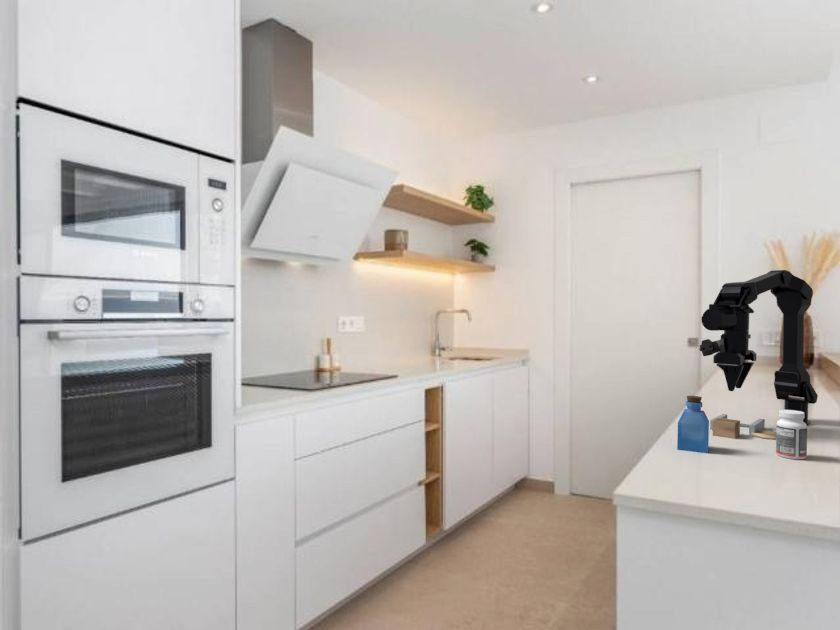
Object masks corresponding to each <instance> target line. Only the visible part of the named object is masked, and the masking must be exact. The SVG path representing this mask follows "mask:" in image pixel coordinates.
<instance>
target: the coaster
mask: <svg viewBox="0 0 840 630" xmlns="http://www.w3.org/2000/svg"><path fill="white" fill-rule="evenodd" d="M750 436H753V437H756V438H761V439H766V440H775V441H776V431H773V430H765V429H763V430H758V431H757V432H755V433H751V435H750Z"/></svg>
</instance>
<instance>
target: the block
mask: <svg viewBox="0 0 840 630" xmlns="http://www.w3.org/2000/svg"><path fill="white" fill-rule="evenodd" d="M740 423H741V420H738V419H733V418H732V419H731V418H727V419H724V418H717V419H715V420H713V429H712V436H713V437H718V438H719V437H720V438H727V439H733V440H735V439H736V438H739V437H740V436H741V432H740V431H741V426H740Z"/></svg>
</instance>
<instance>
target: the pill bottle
mask: <svg viewBox="0 0 840 630" xmlns="http://www.w3.org/2000/svg"><path fill="white" fill-rule="evenodd" d="M778 415H779V417H780V419H778V420H777V422H776V431H775V432H776V440H775V454H776V455H777V456H778V457H779V458H784V459H790V460H805V459H806V458H807V456H808V455H807V454H808V449H807V448H808V425H806V423H804V422H803V419H804V418H805V415H804V412H801V411H795V410H784V409H780V410H779V412H778Z"/></svg>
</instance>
